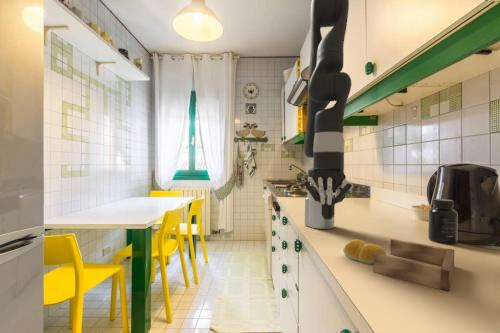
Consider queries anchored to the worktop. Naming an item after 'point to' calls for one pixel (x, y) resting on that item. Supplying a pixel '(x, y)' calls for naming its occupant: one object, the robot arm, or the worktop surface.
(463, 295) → the worktop surface
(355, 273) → the worktop surface
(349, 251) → the bread roll
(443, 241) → the supplement bottle
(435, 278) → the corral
